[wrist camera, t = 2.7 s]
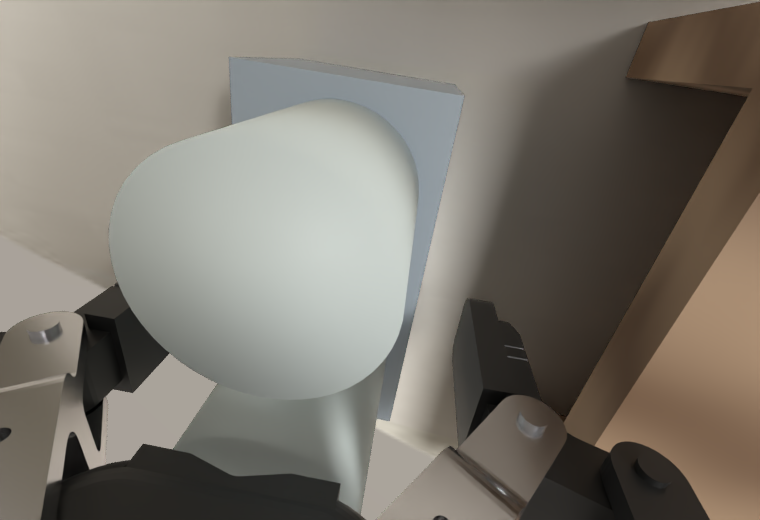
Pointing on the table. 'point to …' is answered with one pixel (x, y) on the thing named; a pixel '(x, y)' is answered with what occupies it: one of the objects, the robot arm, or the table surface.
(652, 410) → the walnut shelf
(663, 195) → the table surface
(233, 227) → the salt and pepper set
